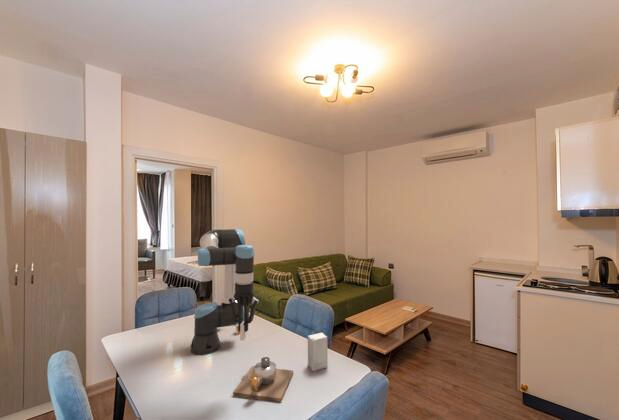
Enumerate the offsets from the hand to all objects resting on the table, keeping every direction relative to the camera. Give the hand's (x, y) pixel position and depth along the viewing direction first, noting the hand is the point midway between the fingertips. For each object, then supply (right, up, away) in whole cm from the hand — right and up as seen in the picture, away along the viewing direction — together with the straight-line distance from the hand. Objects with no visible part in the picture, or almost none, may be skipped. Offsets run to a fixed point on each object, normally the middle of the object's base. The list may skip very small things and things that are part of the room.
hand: (243, 338), depth 115 cm
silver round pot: (+8, -17, 0) cm, 19 cm away
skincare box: (+32, -22, +17) cm, 42 cm away
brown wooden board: (+9, -21, +3) cm, 23 cm away
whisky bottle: (-29, -23, +61) cm, 71 cm away
